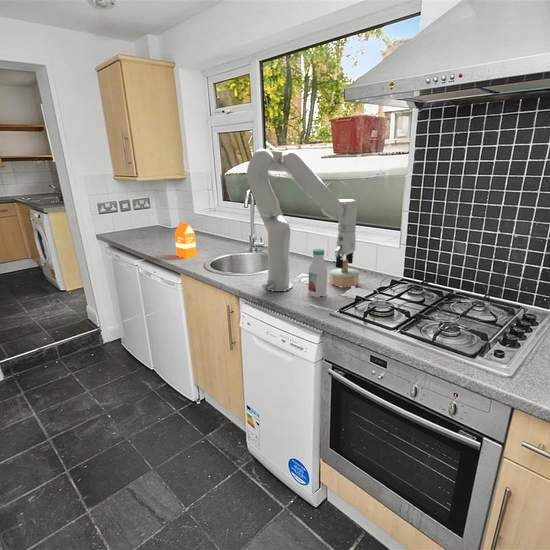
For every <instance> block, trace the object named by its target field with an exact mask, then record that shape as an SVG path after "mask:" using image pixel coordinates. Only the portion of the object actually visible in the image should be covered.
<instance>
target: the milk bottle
mask: <svg viewBox="0 0 550 550" xmlns="http://www.w3.org/2000/svg"><path fill="white" fill-rule="evenodd" d="M312 256H313V257H312V260H311V263H310V264H309V266H308V267H309V268H308V289H307V291H308V293H307V294H308V296H310V295H311V296H310V297H312V296H314V297H313V298H321V297H320V296H324V295H326V296H327V290H328V289H327V288H328V287H327V285H328V267H327V264H326V262H325V258H324V256H325V249H322V248H315V249H314V248H313V250H312ZM324 297H325V296H324Z"/></svg>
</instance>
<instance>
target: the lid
mask: <svg viewBox="0 0 550 550" xmlns="http://www.w3.org/2000/svg"><path fill="white" fill-rule="evenodd" d="M342 260H343V268H335V269H332V270H330V272H329V275H330V274H331V275H332V276H335V277H341V278H349V277H355V276H358V275H360V271H359V270H358V269H354V268H349V263H348V260H346V259H342Z"/></svg>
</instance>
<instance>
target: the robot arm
mask: <svg viewBox="0 0 550 550" xmlns="http://www.w3.org/2000/svg"><path fill="white" fill-rule="evenodd" d="M269 172H284V173H286V174H287V175H288V176H289V178H291V180H292V181H293V182H294V184H296V185H297V186H298V187H299V188H300V190H301V191H302V192H303V193H304V194H305V195H306V196H308V197H309V198H311V199H312V200H313V201H314V202H315V203H316V204H317V205H318V206H319V207H320V210H321V213H322V214H323V215H324V216H326V217H327V218H330V219H332V220H336V219H338V226H337V232H338V233H337V241H336V249H335V250H334V254H335V268H336V269H339V268H343V260H344V259H343V258H344V256H345V260H348V264H353V260H354V259H353V258H354V252H355V251H356V227H357V212H358V201H357V200H356V199H350V198H349V199H348V198H345V199H339V198H338V197H337V196H336V195H335V194H334V192H333V191H332V190H331V189H330V188H329V187H328V186H327V185H326V184H325V183H324V182H323V181H322V179H321V178H320V177H318V175H317V174H316V173H315V172H314V170H313V169H312V168H311V167H310V166H309V165H308V163H307V162H306V161H304V159H303V158H302V157H301V155H299V154H298V153H297V152H296V151H292V150H287V151H286V150H285V151H283V150H269V149H267V148H266V149H265V148H260V149H258V150H256V151H255V152H253V155H252V157H251V159H250V160H249V162H248V165H247V170H246V179H247V183H248V186H249V189H250V191H251V194H252V196H253V198H254V200H255V206H256V209H257V211H258V213H259V215H260V218H261V220H262V222H263V225H264V227H265V228H266V232H267V275H268V276H267V280H266V283H264V284H262V286H261V287H262V289H265V290H267V289H269V290H273V291H284V290H288V289H291V288H292V287H294V286H293V283H291V281H290V243H291V242H290V241H291V226H290V224H289V222H288V221H287V220H286V219H285V216H284V214H283V211H282V209H281V207H280V201H279V200H278V197H276V196H277V195H276V194H275V191H274V189H273V187H272V184H271V182H270V179H269ZM266 288H267V289H266ZM292 289H293V288H292ZM292 289H291V290H292ZM269 290H268V291H269ZM273 291H272V292H273Z"/></svg>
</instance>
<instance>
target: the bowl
mask: <svg viewBox="0 0 550 550" xmlns="http://www.w3.org/2000/svg"><path fill="white" fill-rule="evenodd" d="M359 275H360V274H359ZM359 275H358V276H355V277H349V278H341V277H335V276H332V275H331V274H330V273H329V282H330V284H331V283H332V284H333V285H337V286H342V287H351V286H355V285H358V283H359ZM332 284H331V285H332ZM333 285H332V286H333ZM355 287H356V286H355Z"/></svg>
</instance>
